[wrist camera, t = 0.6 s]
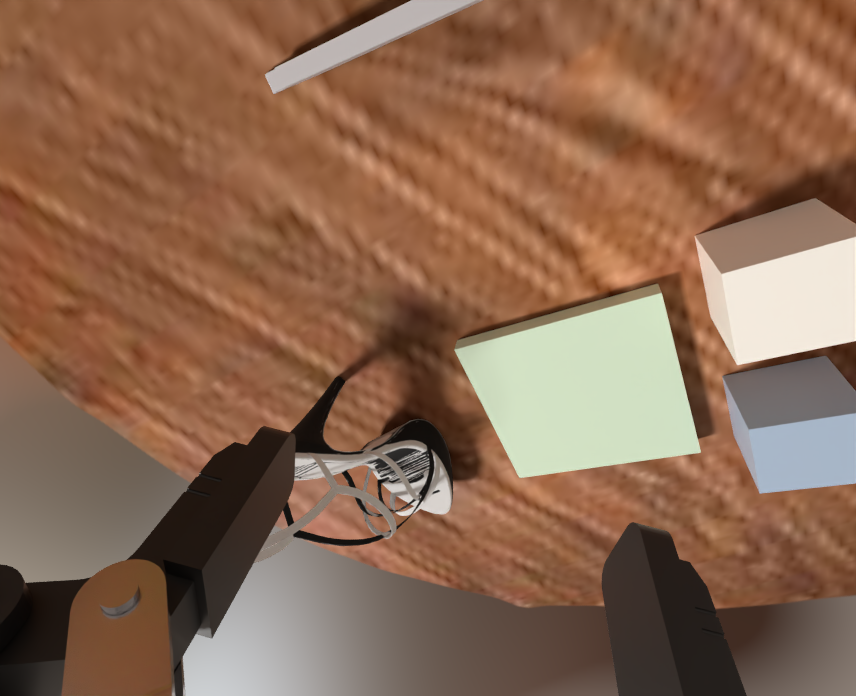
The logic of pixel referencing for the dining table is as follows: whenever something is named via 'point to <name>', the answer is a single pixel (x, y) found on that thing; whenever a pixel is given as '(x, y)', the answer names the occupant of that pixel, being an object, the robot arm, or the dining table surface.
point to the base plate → (584, 385)
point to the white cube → (782, 281)
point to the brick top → (794, 424)
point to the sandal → (389, 460)
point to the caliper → (363, 40)
